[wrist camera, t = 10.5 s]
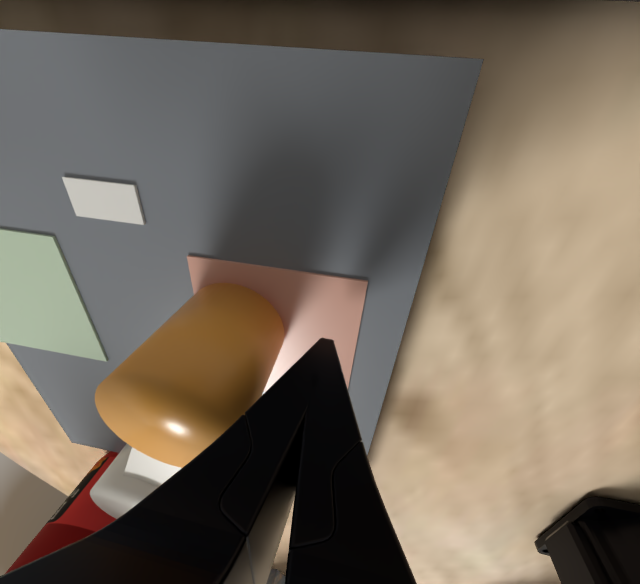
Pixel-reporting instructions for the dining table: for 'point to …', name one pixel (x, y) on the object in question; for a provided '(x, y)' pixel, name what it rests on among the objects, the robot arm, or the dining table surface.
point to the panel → (214, 199)
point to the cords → (627, 0)
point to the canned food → (70, 518)
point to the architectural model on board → (276, 577)
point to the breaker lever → (185, 389)
